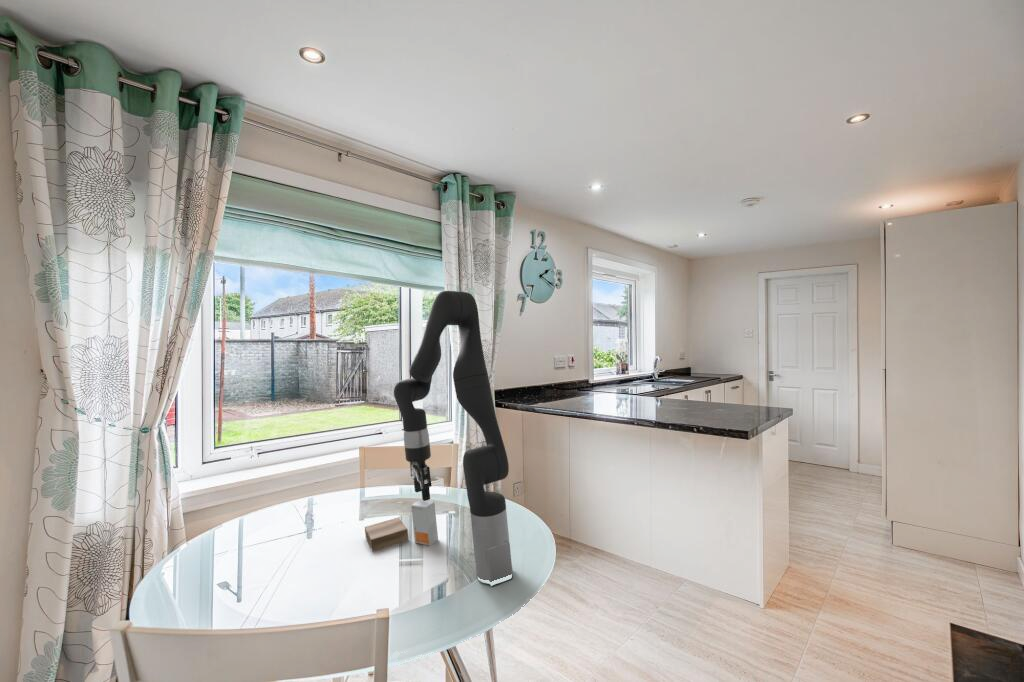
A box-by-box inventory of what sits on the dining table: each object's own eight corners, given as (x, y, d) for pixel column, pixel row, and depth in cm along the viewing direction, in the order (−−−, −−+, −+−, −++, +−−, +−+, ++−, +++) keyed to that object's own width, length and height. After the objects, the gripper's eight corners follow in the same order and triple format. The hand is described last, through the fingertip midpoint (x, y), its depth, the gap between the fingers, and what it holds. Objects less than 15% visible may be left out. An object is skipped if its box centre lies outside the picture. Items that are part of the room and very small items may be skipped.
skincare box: (414, 543, 140) (410, 505, 139) (423, 537, 143) (419, 499, 143) (430, 546, 137) (426, 507, 136) (439, 539, 141) (434, 501, 140)
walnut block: (408, 541, 142) (407, 528, 142) (372, 552, 137) (371, 539, 137) (400, 529, 152) (398, 517, 152) (365, 539, 147) (364, 527, 147)
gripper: (436, 445, 134) (441, 499, 135) (422, 436, 147) (427, 486, 148) (410, 451, 131) (416, 506, 132) (399, 441, 144) (404, 491, 144)
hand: (422, 495), depth 140 cm, fingers open, 8 cm apart
